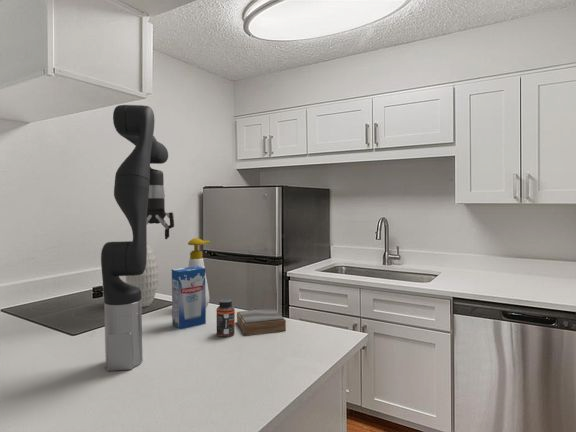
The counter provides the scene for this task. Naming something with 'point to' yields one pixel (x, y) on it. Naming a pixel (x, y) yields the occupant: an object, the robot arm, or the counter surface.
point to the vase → (146, 279)
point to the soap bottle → (198, 261)
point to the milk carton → (188, 297)
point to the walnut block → (260, 321)
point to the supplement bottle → (225, 318)
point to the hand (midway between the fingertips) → (154, 239)
